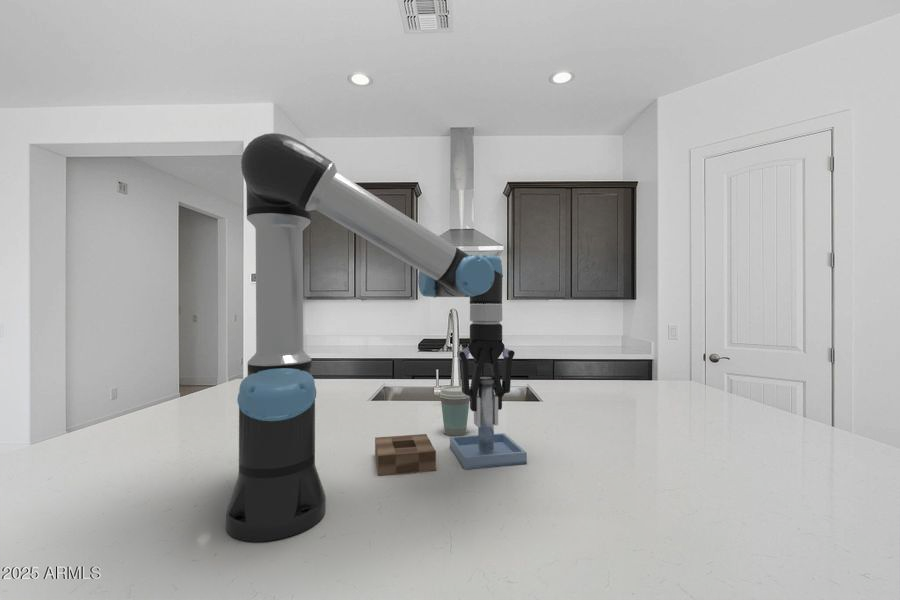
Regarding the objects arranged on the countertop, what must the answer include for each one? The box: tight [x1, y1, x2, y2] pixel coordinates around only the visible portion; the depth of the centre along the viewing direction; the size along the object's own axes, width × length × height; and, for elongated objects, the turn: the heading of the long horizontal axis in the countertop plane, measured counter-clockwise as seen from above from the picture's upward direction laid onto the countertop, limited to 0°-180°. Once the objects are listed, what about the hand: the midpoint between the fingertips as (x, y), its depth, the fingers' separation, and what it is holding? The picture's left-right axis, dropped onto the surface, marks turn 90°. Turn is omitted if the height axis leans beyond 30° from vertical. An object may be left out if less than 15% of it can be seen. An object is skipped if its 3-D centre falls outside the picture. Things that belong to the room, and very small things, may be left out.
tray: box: [449, 432, 528, 470], centre depth 97 cm, size 14×14×2 cm
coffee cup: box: [439, 385, 470, 437], centre depth 114 cm, size 9×9×12 cm
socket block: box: [374, 433, 437, 477], centre depth 93 cm, size 12×12×4 cm
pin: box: [477, 376, 495, 451], centre depth 97 cm, size 4×4×16 cm
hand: (486, 424), depth 97 cm, fingers closed on pin, 3 cm apart
